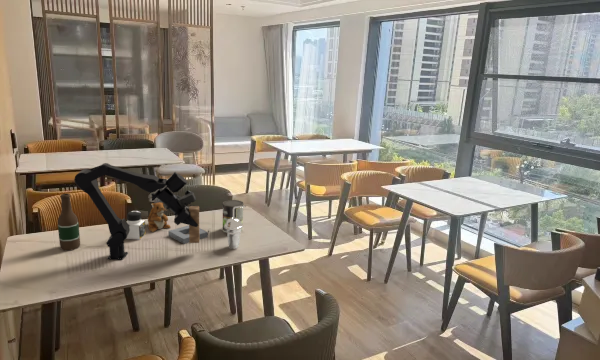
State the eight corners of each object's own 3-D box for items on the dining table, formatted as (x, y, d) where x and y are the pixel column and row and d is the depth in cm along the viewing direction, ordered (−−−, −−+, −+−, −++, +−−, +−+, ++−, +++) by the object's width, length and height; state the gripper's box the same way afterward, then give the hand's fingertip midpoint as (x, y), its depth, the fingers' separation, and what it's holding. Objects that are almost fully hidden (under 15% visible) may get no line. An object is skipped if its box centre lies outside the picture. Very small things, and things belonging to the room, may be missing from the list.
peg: (189, 243, 179) (188, 209, 176) (190, 239, 183) (189, 206, 179) (199, 242, 180) (198, 209, 176) (199, 239, 184) (199, 206, 180)
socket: (183, 243, 192) (183, 238, 192) (168, 235, 201) (168, 230, 200) (207, 236, 202) (207, 231, 201) (192, 229, 210) (192, 224, 210)
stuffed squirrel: (152, 233, 203) (150, 207, 200) (142, 224, 214) (140, 199, 210) (172, 229, 209) (171, 203, 206) (161, 220, 220) (160, 196, 217)
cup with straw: (232, 241, 198) (232, 200, 192) (247, 246, 193) (248, 204, 188) (220, 247, 190) (220, 205, 185) (235, 252, 186) (236, 209, 181)
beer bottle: (72, 252, 179) (66, 197, 173) (56, 249, 181) (50, 195, 175) (84, 244, 187) (79, 192, 181) (69, 242, 188) (63, 191, 182)
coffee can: (225, 234, 205) (225, 207, 202) (220, 227, 214) (220, 200, 211) (245, 232, 210) (246, 205, 206) (239, 225, 219) (240, 199, 215)
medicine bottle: (140, 239, 195) (138, 215, 192) (124, 239, 195) (123, 214, 192) (145, 234, 202) (144, 210, 199) (130, 233, 202) (129, 209, 199)
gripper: (182, 192, 166) (210, 219, 171) (185, 180, 184) (211, 204, 189) (161, 212, 166) (191, 237, 171) (167, 198, 184) (193, 221, 189)
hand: (197, 224), depth 180 cm, fingers closed on peg, 4 cm apart
